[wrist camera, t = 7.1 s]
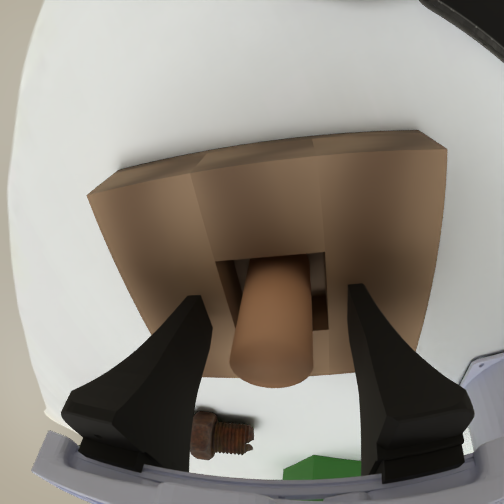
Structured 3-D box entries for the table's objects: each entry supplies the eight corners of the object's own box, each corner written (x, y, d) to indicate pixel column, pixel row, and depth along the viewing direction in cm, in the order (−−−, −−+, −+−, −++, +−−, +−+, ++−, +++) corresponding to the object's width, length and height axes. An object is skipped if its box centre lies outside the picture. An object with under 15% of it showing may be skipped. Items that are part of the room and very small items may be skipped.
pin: (305, 237, 15) (309, 335, 10) (312, 286, 16) (316, 385, 11) (242, 245, 15) (218, 341, 10) (256, 292, 17) (240, 388, 12)
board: (418, 130, 12) (447, 149, 9) (401, 327, 18) (411, 365, 16) (118, 170, 14) (86, 195, 12) (186, 340, 21) (175, 375, 18)
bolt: (256, 409, 29) (117, 390, 30) (254, 411, 24) (95, 387, 25) (252, 463, 26) (113, 440, 27) (249, 474, 22) (90, 443, 23)
